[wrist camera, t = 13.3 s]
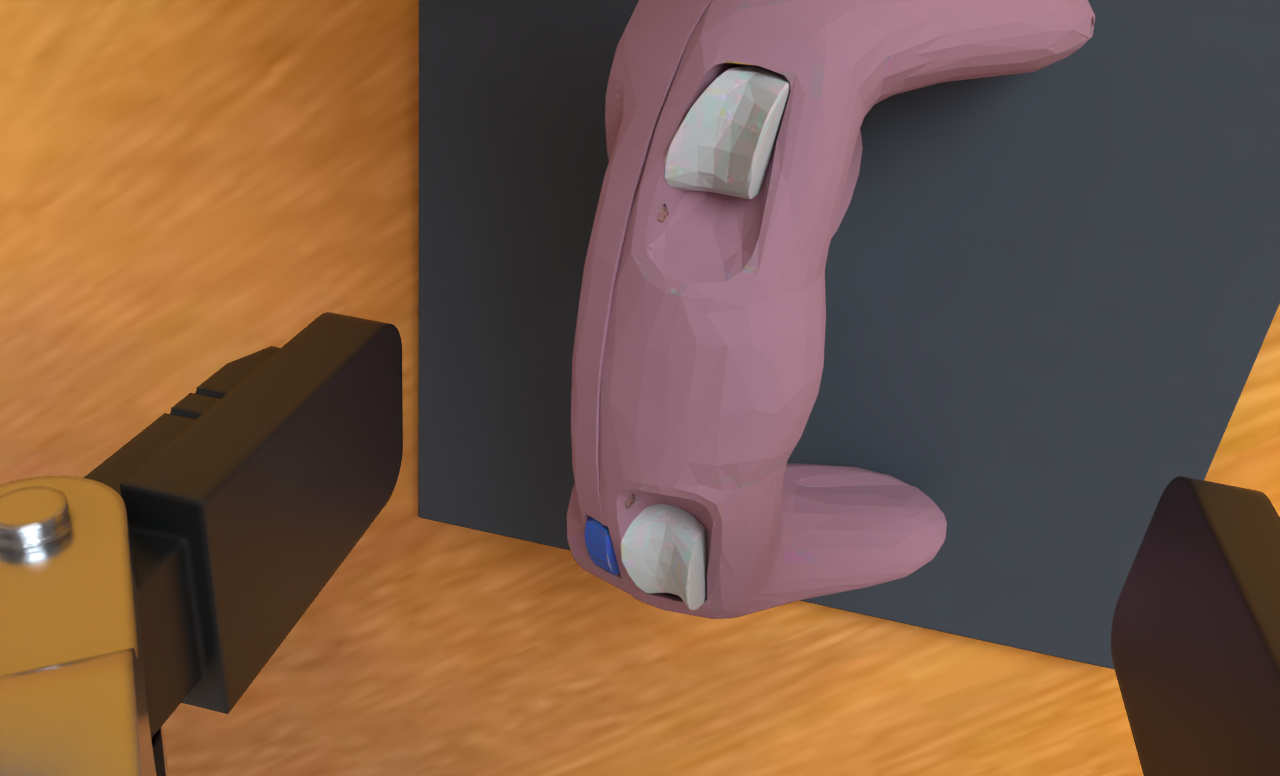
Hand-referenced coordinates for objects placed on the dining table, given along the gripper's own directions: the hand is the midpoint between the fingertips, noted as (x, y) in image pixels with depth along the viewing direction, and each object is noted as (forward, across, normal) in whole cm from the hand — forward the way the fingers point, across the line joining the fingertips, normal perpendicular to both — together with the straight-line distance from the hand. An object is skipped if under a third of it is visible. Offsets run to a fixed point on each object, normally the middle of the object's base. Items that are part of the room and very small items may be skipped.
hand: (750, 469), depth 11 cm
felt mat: (+8, 0, 0) cm, 8 cm away
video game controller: (+7, 0, 0) cm, 7 cm away
